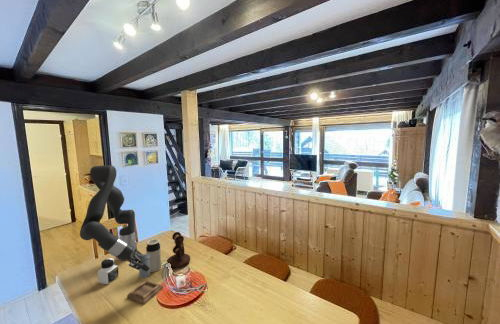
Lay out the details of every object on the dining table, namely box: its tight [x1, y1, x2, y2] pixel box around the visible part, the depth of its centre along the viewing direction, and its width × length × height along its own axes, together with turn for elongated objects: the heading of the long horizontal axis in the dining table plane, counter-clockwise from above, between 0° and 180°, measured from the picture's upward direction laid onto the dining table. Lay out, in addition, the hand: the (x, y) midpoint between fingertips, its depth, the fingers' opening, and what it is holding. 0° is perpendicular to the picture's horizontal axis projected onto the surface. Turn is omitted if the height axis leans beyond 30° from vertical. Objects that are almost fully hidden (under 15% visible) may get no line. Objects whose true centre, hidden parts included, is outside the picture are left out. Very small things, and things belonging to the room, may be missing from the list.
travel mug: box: [145, 238, 162, 273], centre depth 131 cm, size 8×8×18 cm
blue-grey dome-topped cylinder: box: [138, 253, 151, 279], centre depth 109 cm, size 6×6×10 cm
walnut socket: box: [126, 279, 164, 305], centre depth 111 cm, size 12×12×3 cm
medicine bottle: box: [97, 257, 120, 285], centre depth 121 cm, size 7×7×12 cm
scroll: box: [166, 231, 191, 269], centre depth 138 cm, size 15×15×20 cm
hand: (148, 266), depth 110 cm, fingers closed on blue-grey dome-topped cylinder, 5 cm apart
